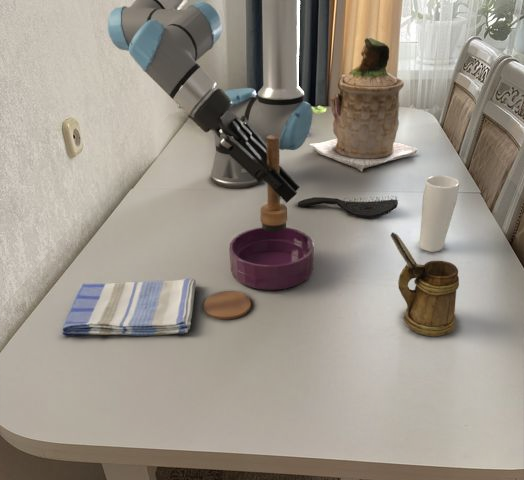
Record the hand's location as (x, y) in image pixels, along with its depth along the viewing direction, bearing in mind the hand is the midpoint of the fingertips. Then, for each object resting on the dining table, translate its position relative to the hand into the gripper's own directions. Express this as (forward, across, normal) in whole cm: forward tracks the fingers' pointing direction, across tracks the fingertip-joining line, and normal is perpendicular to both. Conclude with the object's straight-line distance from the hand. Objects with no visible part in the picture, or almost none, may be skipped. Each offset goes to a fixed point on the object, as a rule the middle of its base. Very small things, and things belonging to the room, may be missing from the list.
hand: (293, 194), depth 107 cm
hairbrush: (+17, -30, -5) cm, 35 cm away
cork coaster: (+4, +18, -18) cm, 26 cm away
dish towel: (-8, +22, -30) cm, 38 cm away
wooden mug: (+30, +17, +7) cm, 35 cm away
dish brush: (+2, 0, -8) cm, 8 cm away
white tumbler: (+32, -13, +9) cm, 35 cm away
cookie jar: (+18, -72, -4) cm, 74 cm away
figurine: (-1, -95, -23) cm, 98 cm away
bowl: (+8, +3, -14) cm, 16 cm away
